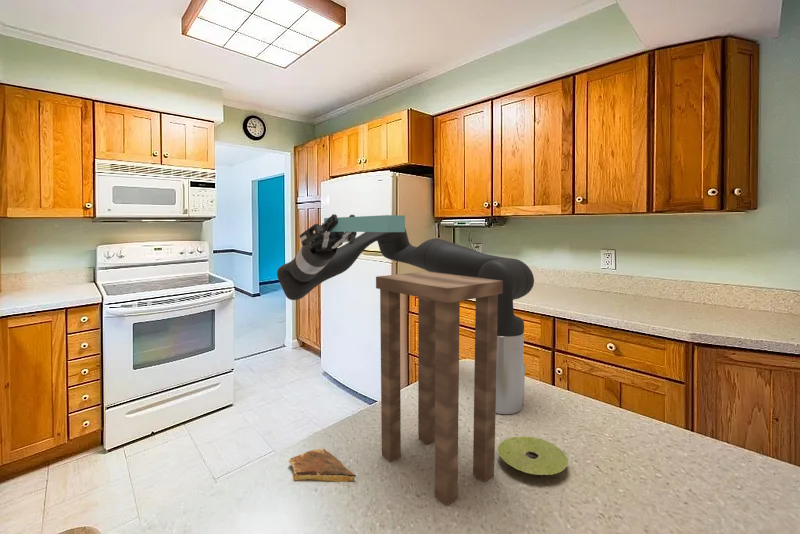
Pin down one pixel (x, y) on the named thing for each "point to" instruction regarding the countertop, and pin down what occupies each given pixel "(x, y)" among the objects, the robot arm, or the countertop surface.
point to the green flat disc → (533, 455)
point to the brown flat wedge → (319, 467)
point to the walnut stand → (441, 369)
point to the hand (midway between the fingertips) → (345, 218)
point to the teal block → (370, 224)
